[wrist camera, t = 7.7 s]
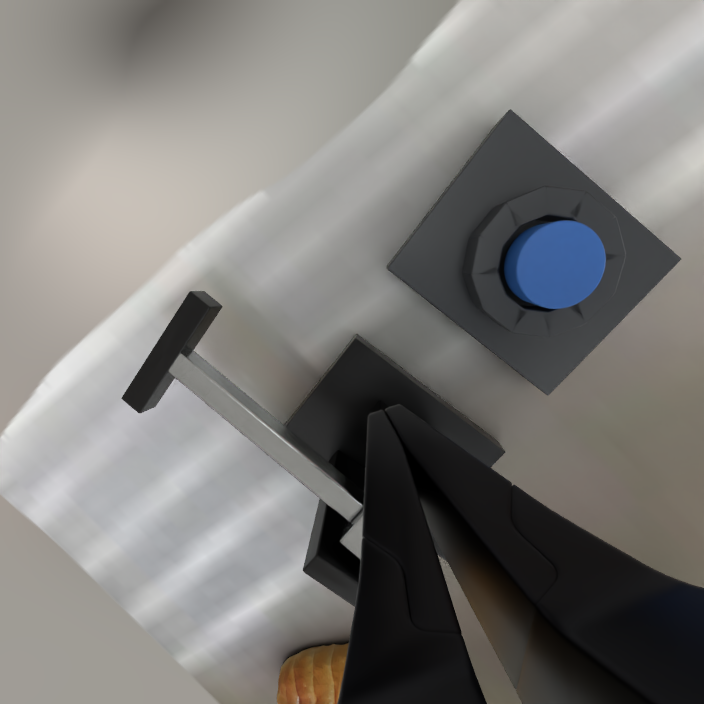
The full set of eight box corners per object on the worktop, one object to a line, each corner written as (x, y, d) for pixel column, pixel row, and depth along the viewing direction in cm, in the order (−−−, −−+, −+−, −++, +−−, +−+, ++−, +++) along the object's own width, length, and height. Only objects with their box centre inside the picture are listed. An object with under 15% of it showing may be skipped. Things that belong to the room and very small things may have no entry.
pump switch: (654, 258, 21) (716, 259, 17) (534, 384, 23) (565, 410, 19) (497, 122, 20) (526, 90, 16) (386, 267, 22) (387, 270, 18)
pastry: (284, 701, 30) (270, 763, 27) (280, 630, 29) (265, 685, 25) (407, 710, 30) (411, 774, 26) (410, 638, 28) (414, 696, 24)
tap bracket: (270, 443, 25) (204, 558, 16) (356, 333, 23) (341, 389, 14) (405, 539, 26) (421, 701, 17) (499, 442, 24) (578, 565, 15)
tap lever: (147, 389, 19) (109, 402, 17) (211, 290, 18) (180, 290, 16) (370, 575, 19) (363, 616, 16) (455, 489, 17) (459, 520, 15)
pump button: (602, 257, 18) (625, 257, 16) (545, 319, 19) (561, 326, 17) (542, 206, 17) (560, 200, 16) (486, 272, 18) (497, 274, 17)
